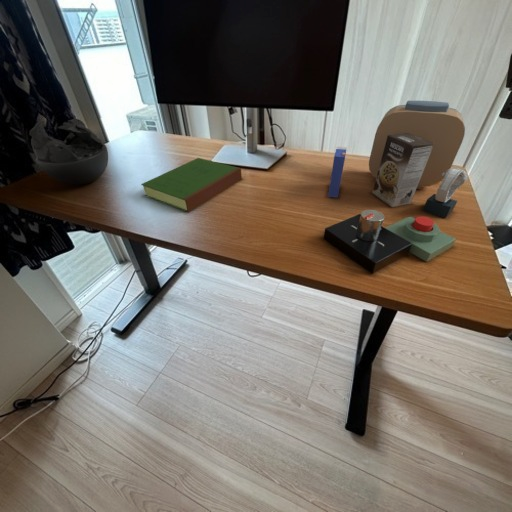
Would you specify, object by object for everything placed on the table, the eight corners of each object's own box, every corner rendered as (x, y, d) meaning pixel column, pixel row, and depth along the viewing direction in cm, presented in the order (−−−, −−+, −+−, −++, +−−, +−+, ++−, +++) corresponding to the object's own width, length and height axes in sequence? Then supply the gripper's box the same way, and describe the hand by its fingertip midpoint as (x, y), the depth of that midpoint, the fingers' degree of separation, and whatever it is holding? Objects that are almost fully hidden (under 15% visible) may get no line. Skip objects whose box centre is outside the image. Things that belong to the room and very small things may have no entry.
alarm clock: (439, 180, 83) (473, 100, 69) (439, 193, 76) (476, 108, 62) (369, 170, 90) (387, 96, 76) (364, 181, 84) (382, 103, 70)
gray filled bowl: (129, 178, 92) (107, 118, 80) (70, 202, 80) (34, 135, 68) (98, 166, 102) (75, 110, 90) (41, 185, 90) (6, 125, 78)
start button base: (451, 247, 58) (460, 231, 56) (426, 262, 55) (434, 246, 52) (406, 223, 65) (412, 209, 63) (381, 235, 62) (386, 221, 60)
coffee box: (370, 193, 78) (386, 134, 68) (389, 189, 79) (407, 131, 69) (391, 208, 71) (412, 145, 61) (412, 203, 73) (435, 141, 62)
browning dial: (365, 227, 60) (370, 206, 56) (382, 236, 57) (389, 214, 53) (351, 234, 58) (356, 212, 54) (368, 244, 55) (375, 222, 52)
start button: (434, 229, 57) (437, 222, 56) (424, 234, 56) (427, 227, 55) (419, 221, 60) (422, 214, 59) (408, 226, 58) (411, 219, 57)
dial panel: (407, 254, 57) (413, 242, 55) (371, 274, 53) (375, 262, 51) (357, 224, 66) (359, 213, 64) (323, 238, 62) (324, 227, 60)
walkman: (337, 198, 76) (345, 155, 69) (327, 196, 77) (334, 154, 69) (340, 186, 82) (347, 145, 74) (330, 185, 83) (337, 145, 75)
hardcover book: (188, 212, 73) (186, 200, 71) (144, 195, 82) (141, 184, 79) (243, 178, 89) (242, 167, 86) (201, 167, 97) (199, 157, 95)
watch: (454, 209, 70) (475, 167, 63) (442, 221, 66) (463, 178, 59) (432, 201, 73) (449, 161, 66) (419, 212, 69) (436, 171, 62)
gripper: (569, -28, 38) (502, 108, 49) (525, -33, 33) (461, 120, 44) (648, -39, 33) (553, 116, 44) (610, -46, 28) (514, 130, 39)
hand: (507, 117), depth 44 cm, fingers closed
